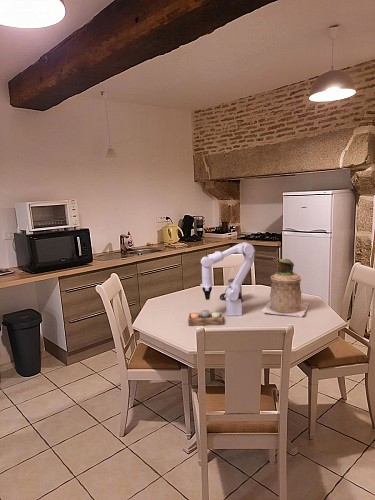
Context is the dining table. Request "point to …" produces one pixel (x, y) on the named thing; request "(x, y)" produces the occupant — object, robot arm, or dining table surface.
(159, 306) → the dining table surface
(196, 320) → the brown wooden flat frame
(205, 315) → the key slate
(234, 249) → the robot arm
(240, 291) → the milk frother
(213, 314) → the key sage
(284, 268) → the cookie jar
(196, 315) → the peach rounded block
